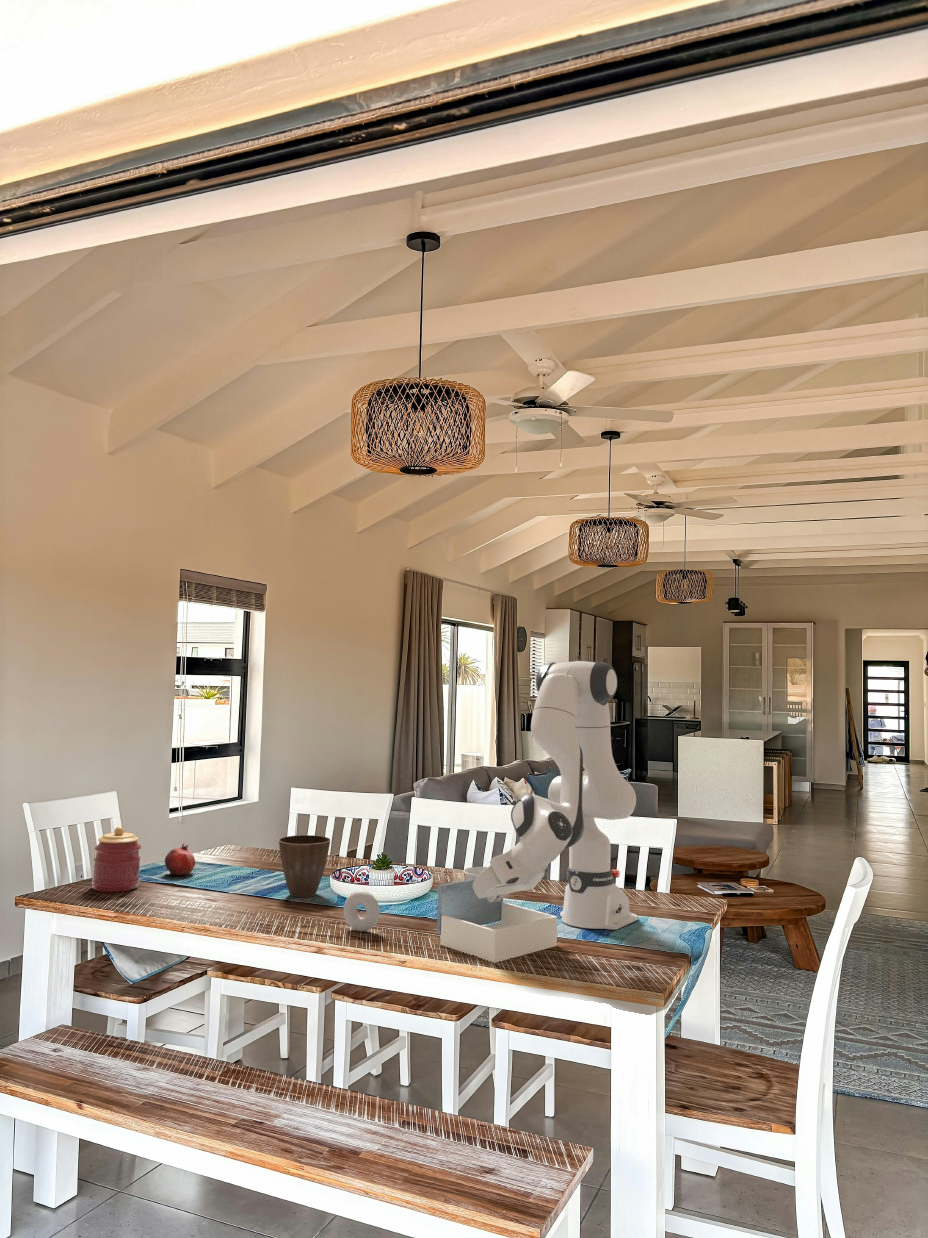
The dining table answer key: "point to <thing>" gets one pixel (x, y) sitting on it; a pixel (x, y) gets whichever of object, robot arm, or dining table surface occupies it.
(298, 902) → the dining table surface
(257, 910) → the dining table surface
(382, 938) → the dining table surface
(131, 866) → the canister
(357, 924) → the donut
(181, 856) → the fruit
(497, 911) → the grey rectangular panel
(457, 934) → the drawer box
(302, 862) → the plant pot
